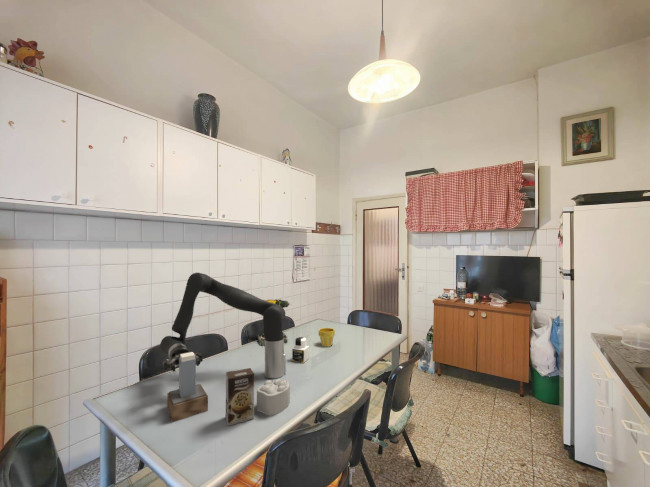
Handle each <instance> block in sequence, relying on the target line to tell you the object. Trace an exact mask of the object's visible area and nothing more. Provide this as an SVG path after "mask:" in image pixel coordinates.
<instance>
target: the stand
mask: <svg viewBox="0 0 650 487" xmlns="http://www.w3.org/2000/svg"><path fill="white" fill-rule="evenodd" d="M166 396H167V399H166V401H167V405H166V407H167V411H168V414H169V417H170V421H171V423H174V422H177V421H180V420H183V419H186V418H189V417H193V416H196V415H198V414H202V413H205V412H208V411H209V396H208V394H207V392H206V390H205V388H204V387H203V385H202V384H201V383H196V394H192V395H189V396H185V397H182V398H181V396H180V394H179V388H178V389H175V390H171V391H170V390H169V392H167V393H166Z"/></svg>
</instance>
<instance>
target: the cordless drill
mask: <svg viewBox="0 0 650 487" xmlns="http://www.w3.org/2000/svg"><path fill="white" fill-rule="evenodd" d="M263 300H264V301H267V302H271V303H274V304H277V305H280V306H281V307H283V308H288V307H289V306H290V305H291V303H290V302H289V301H288V300H282V299H267V300H266V299H263ZM257 340H259V341H258V343H259V344H260V345H261V346H264V347H265V336H264V333H260V334H257ZM288 340H289V339H288V336H287V334H285V333H284V344H286V343H288Z"/></svg>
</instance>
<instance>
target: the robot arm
mask: <svg viewBox="0 0 650 487" xmlns="http://www.w3.org/2000/svg"><path fill="white" fill-rule="evenodd" d="M200 292H201V293H205V294H208V295H210V296H214V297H216V298H217V299H218V300H219V301H221V302H223V303H224V304H226V305H228V306H229V307H231V308H234V309H236V310H239V311H244V312H250V313H255V314H258V315H261V316H262V330H263V333H262V334H264V338H265V340H264V341H265V346H264V377H266V378H268V379H280V378H281V377H283V376H285V375H286V374H287V373H286V372H287V369H286V368H287V367H286V364H287V363H286V362H287V360H286V354H285V343H284V334H285V333H284V331H283V321H284V319H285V317H286V311H285V309H284V307H281V306H280V305H277V304H274V303H271V302H267V301H264V300H265V299H262V298H260V297H257V295H256V296H255V295H253V294H251V293H249V292H247V291H245V290H243V289H240V288H238V287H235V286H231V285H228V284H225V283H222V282H220V281H218V280H216V279H215V278H213V277H212V276H209V275H207V274H206V273H202V272H193V273H192V274H191V275H189V276H188V279H187V282H186V286H185V288H184V293H183V297H182V300H181V304H180V307H179V310H178V313H177V314H176V316H175V320H174V321H173V324H172V326H171V331H173V332H175V333H176V334H179V336H178V337H177V336H172V335H166V336H164V337H163V338H162V339H161V341H160V343H159V346H160V347H159V348H160V350H161V352H163V353H165V354H167V355H168V359H167V358H163V359H162V368H163V370H168V369H169V370H170V372H175V371H176V367H179V358H180V354H184V353H189V352H191V351H190V349H188V347H187V346H186V339H187V338H186V337H187V332H188V329H189V326H190V324H191V322H192V319H193V316H194V312H195V311H194V310H195V309H194V308H195V304H196V300H197V297H198V296H199V293H200ZM194 355H195V359H196V367H198V366H199V365H201V362H203V361H204V360H203V353H201V352H200V351H196V352H195V353H194Z"/></svg>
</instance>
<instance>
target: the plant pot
mask: <svg viewBox="0 0 650 487" xmlns="http://www.w3.org/2000/svg"><path fill="white" fill-rule="evenodd" d="M335 332H336V331H335V329H334V328H332V327H321V328H319V329H318V336H319V339H320V343H321V346H322V347H324V346H329V347H332V346H333V343H334V342H333V341H334V336H335ZM331 345H332V346H331Z"/></svg>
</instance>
